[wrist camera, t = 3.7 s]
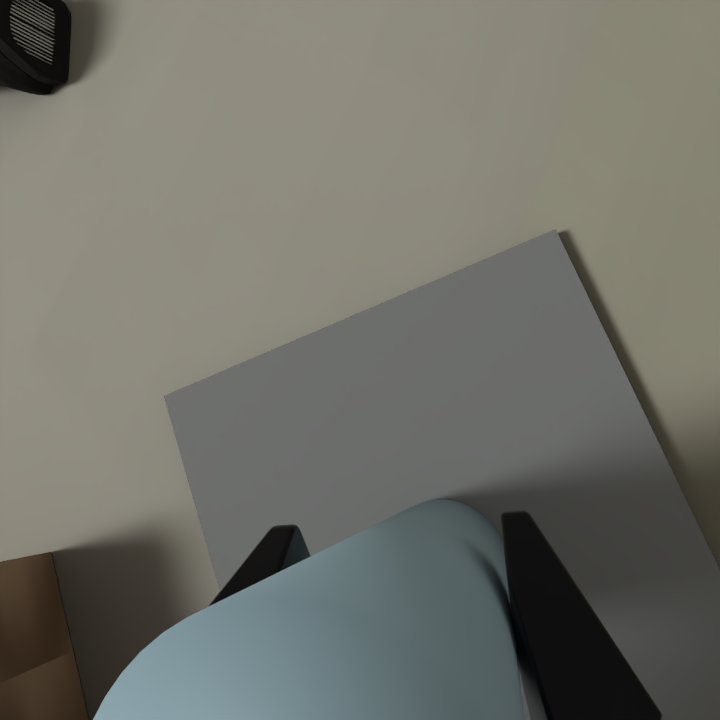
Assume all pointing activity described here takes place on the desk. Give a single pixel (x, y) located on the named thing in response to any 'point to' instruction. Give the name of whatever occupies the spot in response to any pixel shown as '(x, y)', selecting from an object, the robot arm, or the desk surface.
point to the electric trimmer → (34, 44)
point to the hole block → (36, 645)
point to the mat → (469, 451)
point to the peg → (348, 635)
